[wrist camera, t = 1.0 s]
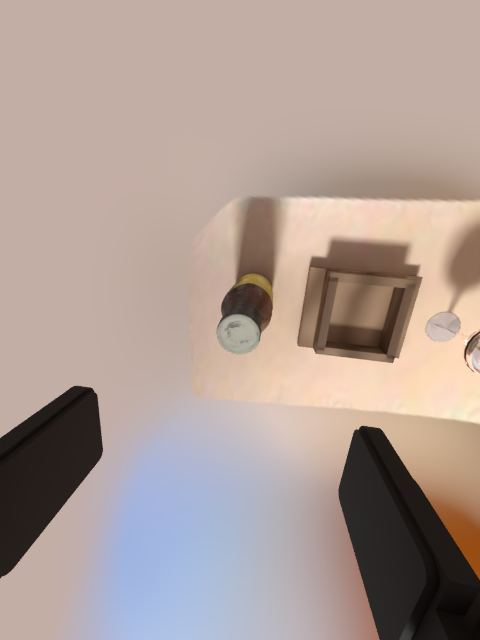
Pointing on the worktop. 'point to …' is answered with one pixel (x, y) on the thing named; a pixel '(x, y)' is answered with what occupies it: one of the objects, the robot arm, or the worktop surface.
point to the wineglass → (446, 326)
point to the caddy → (357, 313)
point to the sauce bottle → (245, 314)
